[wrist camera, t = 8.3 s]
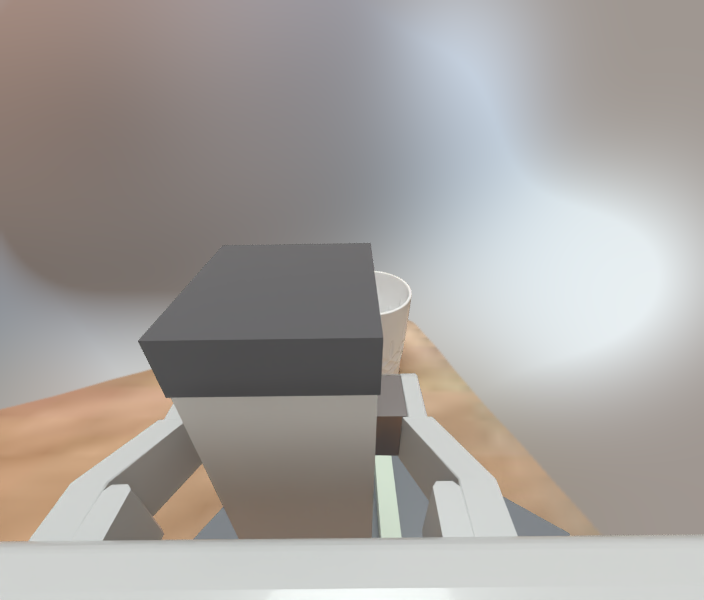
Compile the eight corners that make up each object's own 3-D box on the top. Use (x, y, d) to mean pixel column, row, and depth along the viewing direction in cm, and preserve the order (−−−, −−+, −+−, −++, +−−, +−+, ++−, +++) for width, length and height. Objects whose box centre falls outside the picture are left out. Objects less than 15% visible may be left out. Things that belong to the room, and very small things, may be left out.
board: (87, 664, 16) (68, 655, 15) (325, 403, 30) (324, 388, 29) (481, 1455, 7) (503, 1583, 6) (565, 539, 21) (576, 525, 20)
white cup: (315, 370, 34) (306, 291, 29) (364, 336, 39) (364, 263, 33) (370, 413, 29) (372, 327, 24) (418, 368, 34) (429, 288, 29)
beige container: (250, 569, 11) (138, 341, 5) (275, 454, 14) (222, 245, 9) (371, 568, 11) (383, 337, 5) (366, 453, 14) (370, 243, 9)
